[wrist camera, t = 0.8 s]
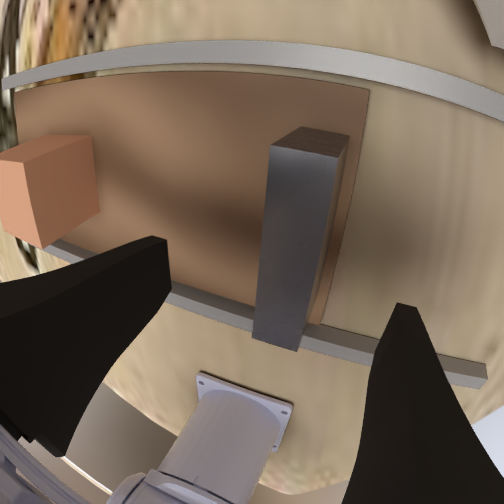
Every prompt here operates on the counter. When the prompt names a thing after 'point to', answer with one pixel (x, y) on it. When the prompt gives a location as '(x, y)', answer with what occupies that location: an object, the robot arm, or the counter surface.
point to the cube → (47, 187)
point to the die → (492, 20)
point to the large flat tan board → (218, 178)
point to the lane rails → (293, 57)
